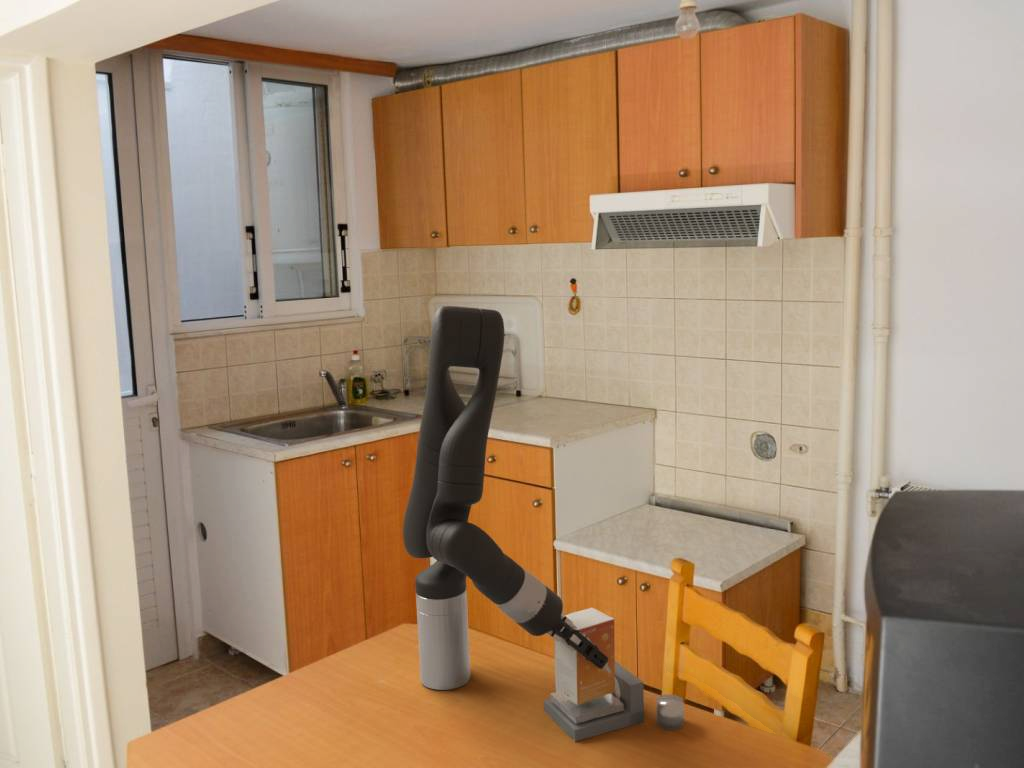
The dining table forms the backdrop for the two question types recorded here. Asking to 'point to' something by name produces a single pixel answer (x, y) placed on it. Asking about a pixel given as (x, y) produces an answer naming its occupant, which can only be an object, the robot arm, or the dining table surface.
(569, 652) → the small box
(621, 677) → the scale base
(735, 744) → the dining table surface
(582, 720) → the platter
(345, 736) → the dining table surface
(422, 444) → the robot arm
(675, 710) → the cylinder
